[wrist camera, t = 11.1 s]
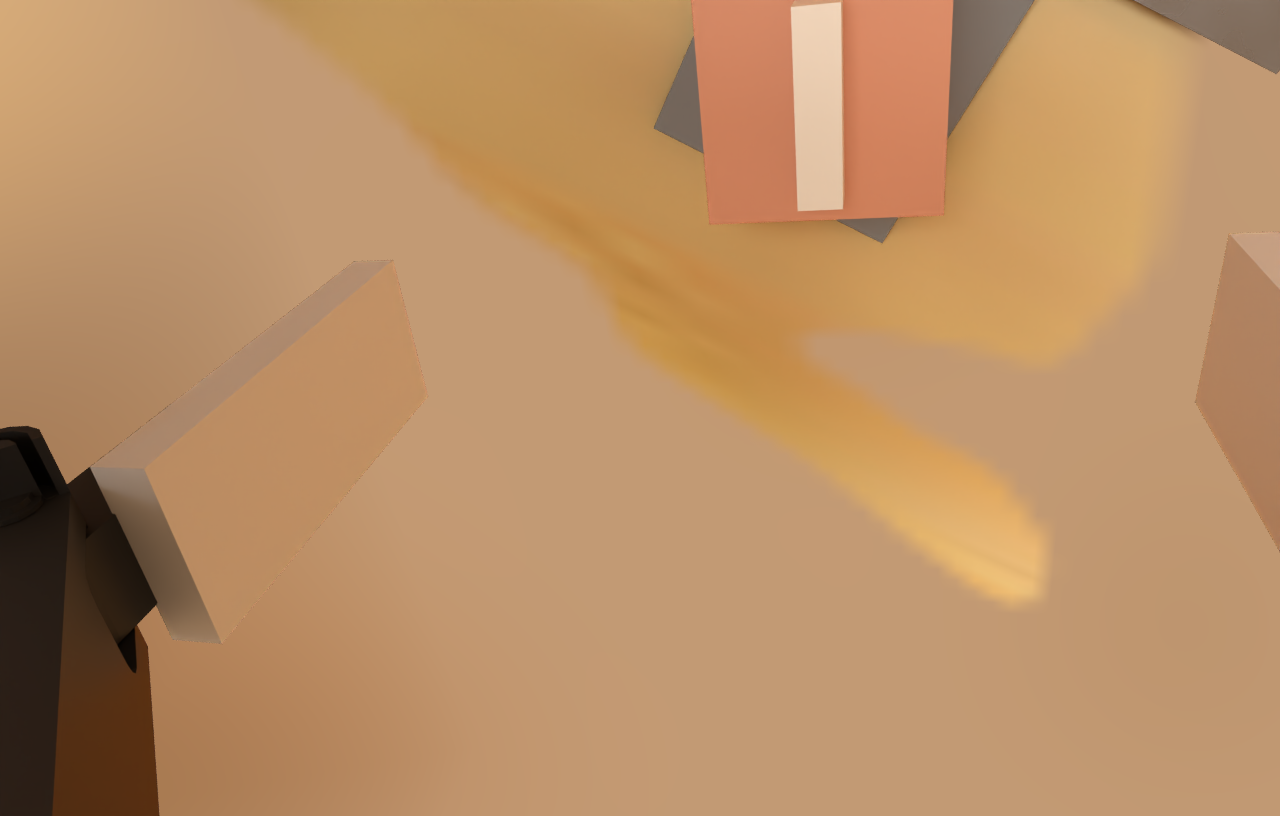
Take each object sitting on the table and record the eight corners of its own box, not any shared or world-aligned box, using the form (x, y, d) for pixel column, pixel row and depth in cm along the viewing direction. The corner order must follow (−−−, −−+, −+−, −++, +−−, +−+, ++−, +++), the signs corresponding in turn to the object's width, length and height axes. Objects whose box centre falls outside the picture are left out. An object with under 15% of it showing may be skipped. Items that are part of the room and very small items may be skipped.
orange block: (717, -38, 33) (681, -13, 27) (944, -62, 31) (958, -42, 25) (732, 175, 37) (702, 238, 31) (935, 165, 35) (946, 230, 29)
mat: (656, 124, 37) (653, 128, 36) (774, -147, 31) (772, -147, 31) (882, 237, 37) (882, 243, 37) (1037, -11, 32) (1039, -9, 31)
